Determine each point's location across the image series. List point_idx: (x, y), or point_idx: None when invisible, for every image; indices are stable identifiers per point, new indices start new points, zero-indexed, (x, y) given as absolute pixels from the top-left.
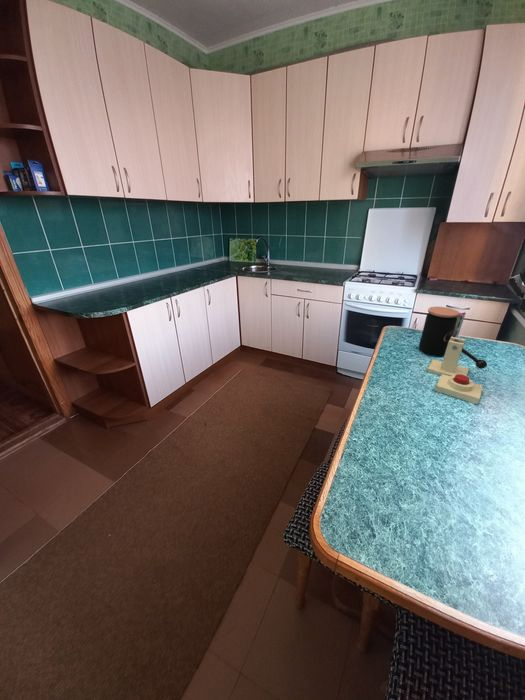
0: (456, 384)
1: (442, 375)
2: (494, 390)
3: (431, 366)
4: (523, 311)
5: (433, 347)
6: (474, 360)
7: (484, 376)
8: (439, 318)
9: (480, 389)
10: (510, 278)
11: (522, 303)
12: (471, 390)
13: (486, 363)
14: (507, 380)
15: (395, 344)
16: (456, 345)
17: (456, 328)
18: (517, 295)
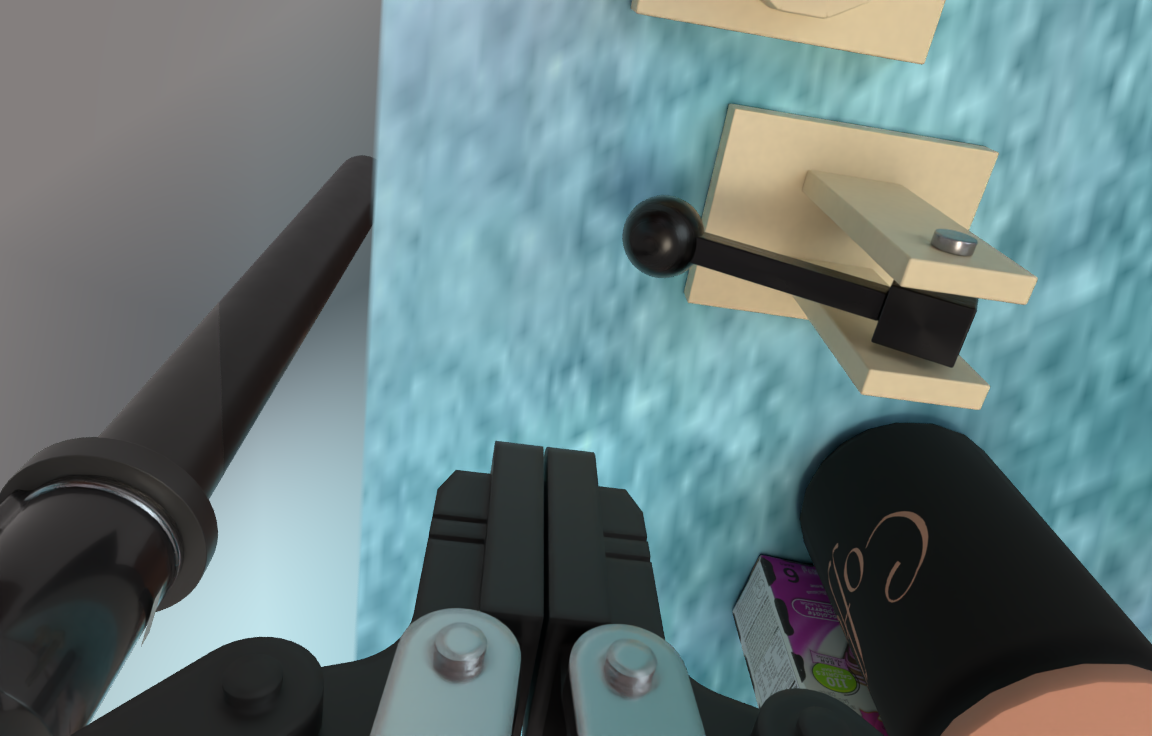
0: None
1: (923, 40)
2: (534, 78)
3: (962, 202)
4: (558, 449)
5: (943, 454)
6: (725, 238)
7: (581, 272)
8: (1104, 653)
9: None
10: None
11: (630, 575)
12: None
13: (635, 229)
14: (441, 285)
15: (1141, 489)
16: (952, 256)
17: None
18: (839, 709)
